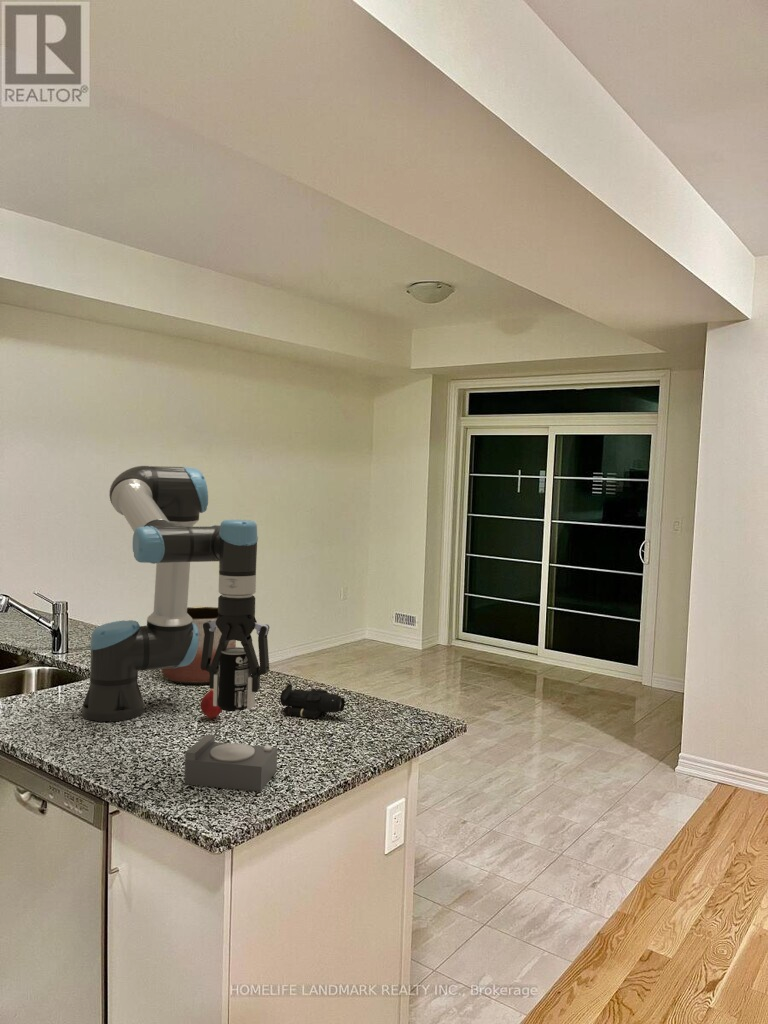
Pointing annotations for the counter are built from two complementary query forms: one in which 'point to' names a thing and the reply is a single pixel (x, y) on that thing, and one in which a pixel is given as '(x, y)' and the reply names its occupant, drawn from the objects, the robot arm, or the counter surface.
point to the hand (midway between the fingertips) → (234, 705)
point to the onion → (209, 706)
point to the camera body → (229, 765)
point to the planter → (193, 670)
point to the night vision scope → (310, 702)
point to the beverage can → (233, 679)
